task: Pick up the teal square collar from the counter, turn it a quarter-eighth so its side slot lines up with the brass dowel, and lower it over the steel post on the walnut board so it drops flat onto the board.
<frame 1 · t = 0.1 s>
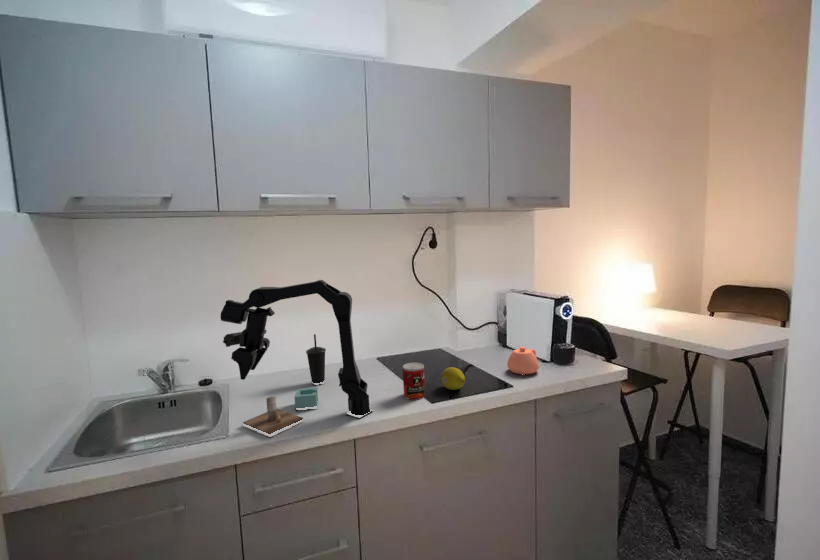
hand: (247, 374, 129), 15 cm above the worktop, tool pointing down, fingers open, 9 cm apart
lemon: (453, 389, 149), on the worktop
collar: (307, 406, 140), on the worktop
orange teapot: (524, 371, 165), on the worktop
drinking cup: (318, 384, 162), on the worktop
board: (273, 424, 127), on the worktop
canned food: (414, 396, 145), on the worktop
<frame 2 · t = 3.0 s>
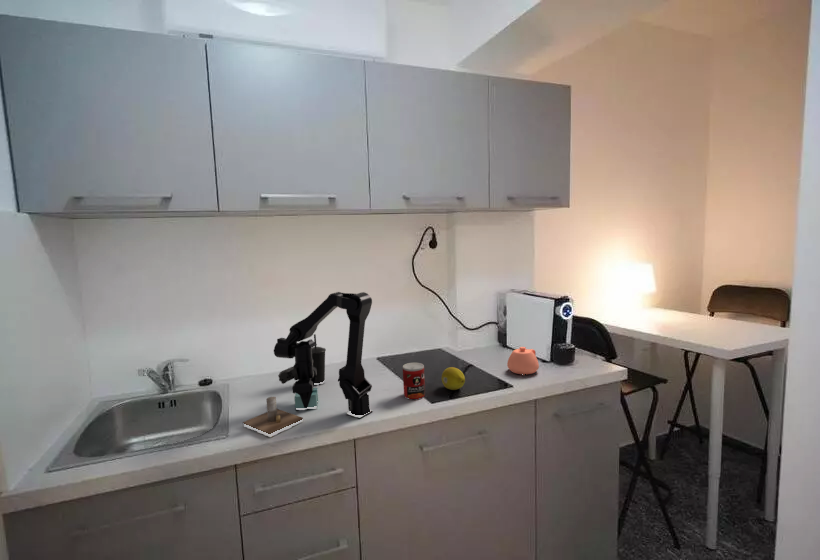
hand: (307, 403, 140), 1 cm above the worktop, tool pointing down, fingers closed on collar, 7 cm apart
collar: (307, 406, 140), on the worktop, touching gripper
everything else where it was.
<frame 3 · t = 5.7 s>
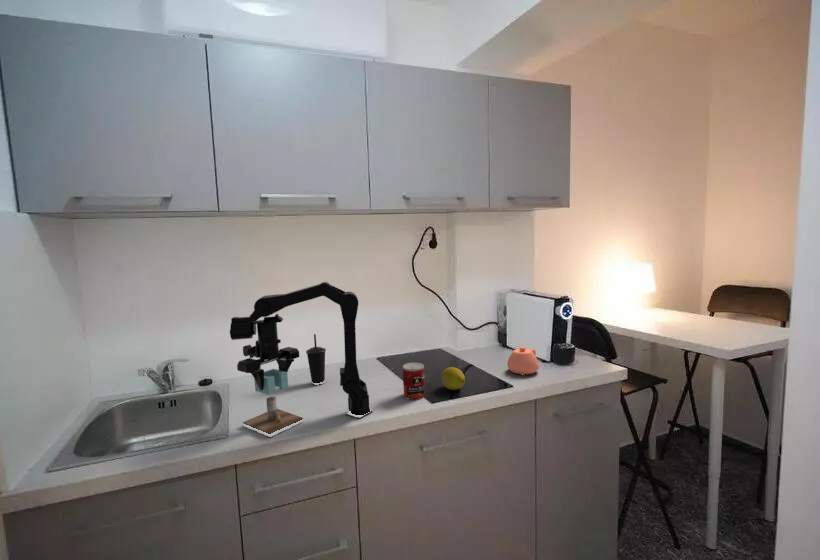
hand: (271, 386, 127), 12 cm above the worktop, tool pointing down, fingers closed on collar, 7 cm apart
collar: (271, 389, 127), point 11 cm above the worktop, touching gripper
everything else where it was.
when the fingers open (3 cm above the worktop, at t = 8.8 s): collar stays where it is, resting on board.
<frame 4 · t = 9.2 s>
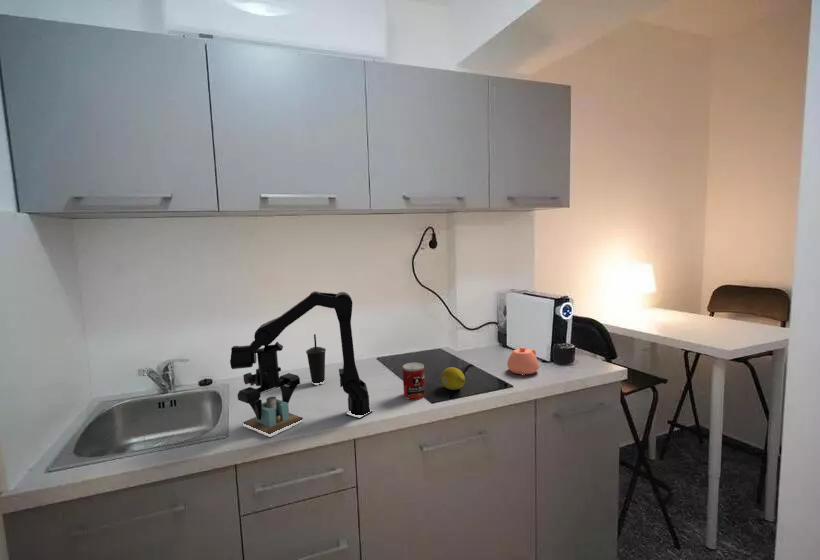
hand: (272, 413, 127), 3 cm above the worktop, tool pointing down, fingers open, 9 cm apart
collar: (273, 419, 127), point 1 cm above the worktop, touching board
everything else where it was.
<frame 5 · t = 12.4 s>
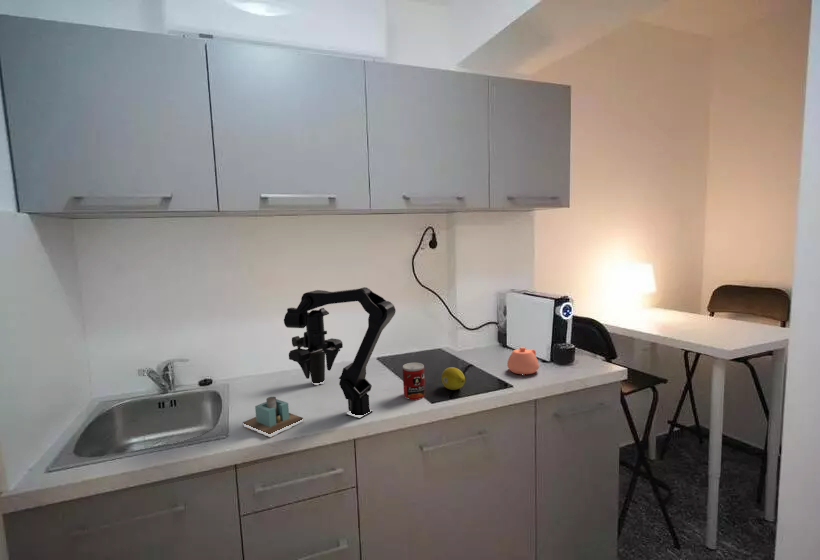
hand: (318, 374, 136), 12 cm above the worktop, tool pointing down, fingers open, 9 cm apart
nothing on the worktop moved.
at the end: collar 0.0 cm off-centre on the board, point 1.5 cm above the board's base; collar tilted 0°; the gripper is holding nothing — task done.
